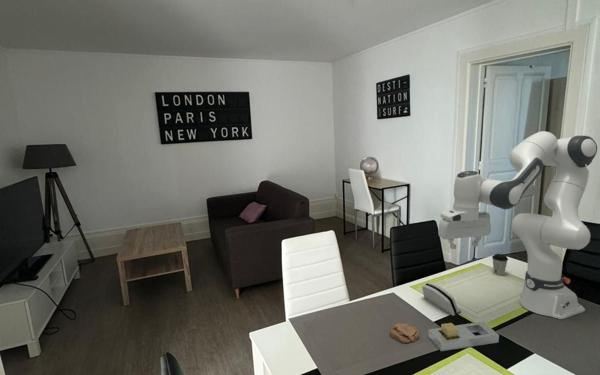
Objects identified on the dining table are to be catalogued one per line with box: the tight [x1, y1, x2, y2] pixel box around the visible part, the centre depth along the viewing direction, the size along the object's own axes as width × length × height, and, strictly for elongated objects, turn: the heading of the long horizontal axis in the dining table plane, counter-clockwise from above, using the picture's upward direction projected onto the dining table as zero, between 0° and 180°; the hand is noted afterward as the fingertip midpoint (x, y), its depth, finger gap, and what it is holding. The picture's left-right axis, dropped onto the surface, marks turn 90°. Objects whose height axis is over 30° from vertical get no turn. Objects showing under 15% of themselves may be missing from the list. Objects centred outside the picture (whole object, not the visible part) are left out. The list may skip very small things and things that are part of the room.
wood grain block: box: [440, 322, 458, 340], centre depth 113 cm, size 4×4×6 cm
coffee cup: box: [491, 253, 509, 277], centre depth 161 cm, size 7×7×10 cm
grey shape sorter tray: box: [428, 321, 500, 352], centre depth 114 cm, size 22×8×3 cm, turn 98°
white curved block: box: [421, 281, 462, 316], centre depth 136 cm, size 17×5×10 cm, turn 21°
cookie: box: [389, 322, 420, 344], centre depth 118 cm, size 10×11×3 cm
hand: (463, 247), depth 124 cm, fingers open, 8 cm apart
